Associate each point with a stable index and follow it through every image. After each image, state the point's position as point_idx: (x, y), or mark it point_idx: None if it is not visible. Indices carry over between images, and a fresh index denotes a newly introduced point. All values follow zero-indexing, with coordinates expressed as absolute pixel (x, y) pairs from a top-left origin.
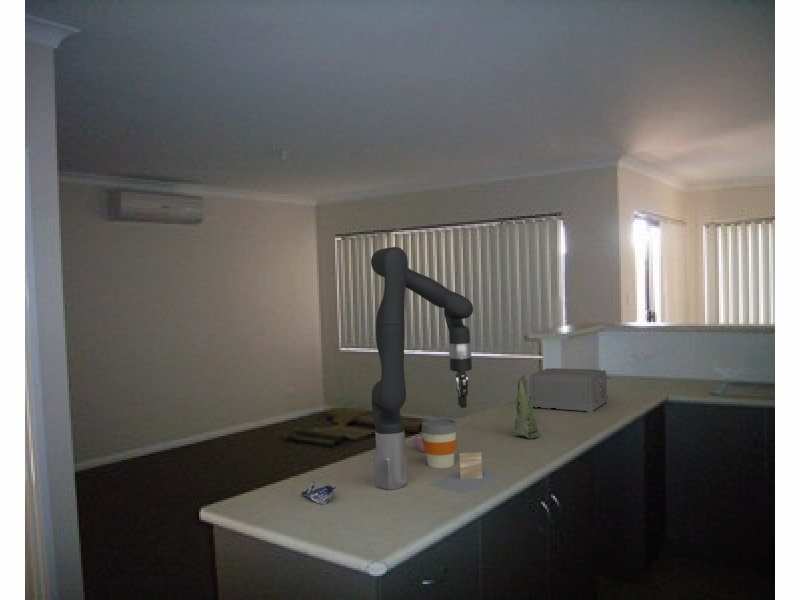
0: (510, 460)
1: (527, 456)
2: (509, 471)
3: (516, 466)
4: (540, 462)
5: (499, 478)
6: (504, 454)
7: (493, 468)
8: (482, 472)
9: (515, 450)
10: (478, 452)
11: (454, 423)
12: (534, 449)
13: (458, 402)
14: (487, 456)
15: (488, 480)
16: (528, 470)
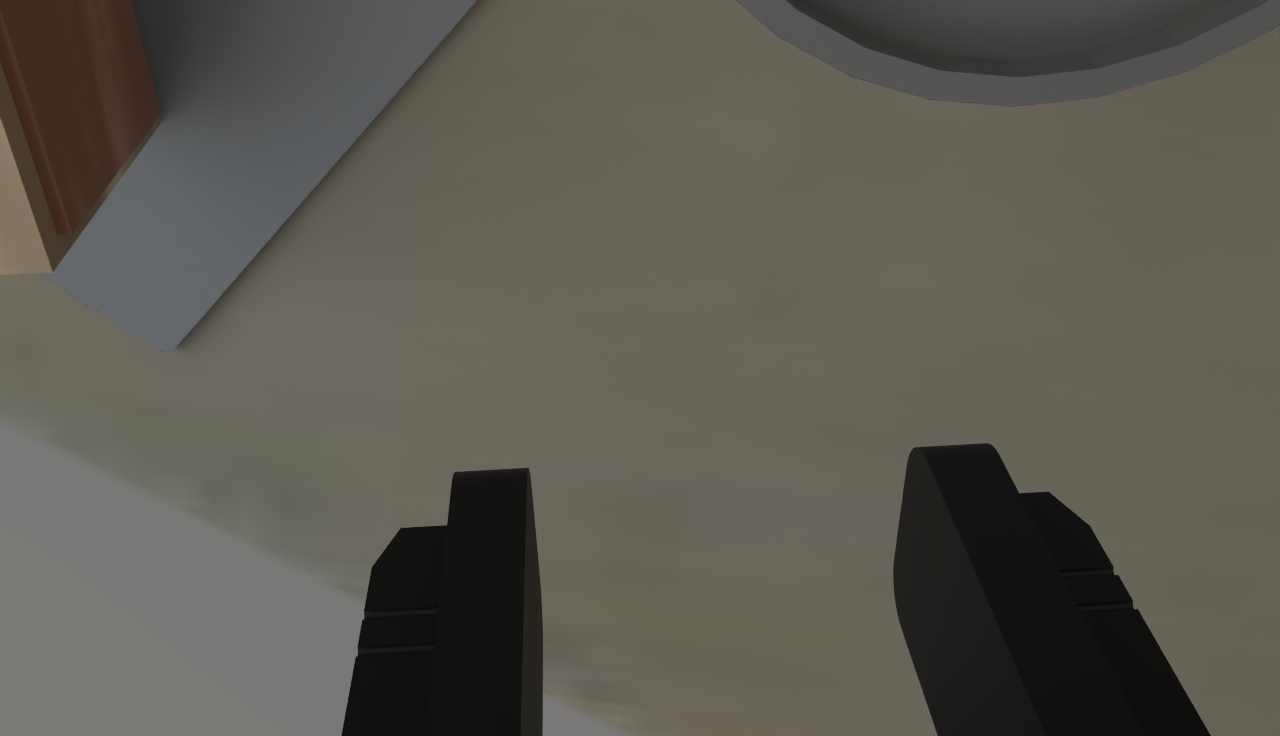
0: (815, 481)
1: None
2: (417, 423)
3: (588, 502)
4: (681, 685)
5: (100, 303)
6: (1059, 460)
7: (547, 292)
8: (336, 156)
9: (1160, 566)
10: (13, 242)
11: (826, 47)
12: None
13: (940, 503)
14: (1051, 291)
15: None
16: None
